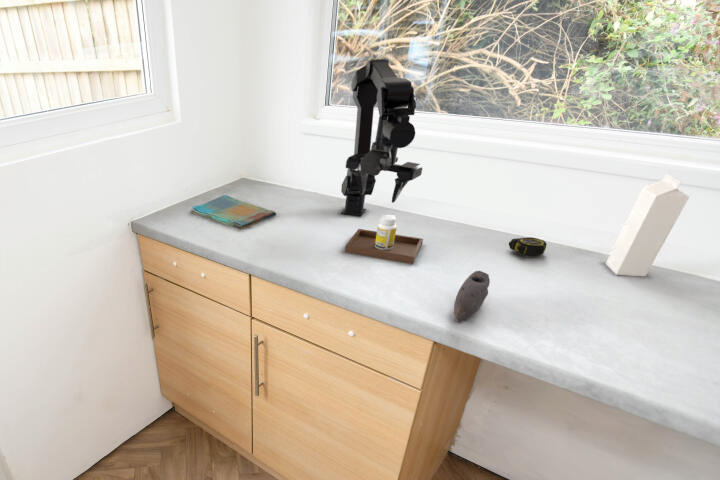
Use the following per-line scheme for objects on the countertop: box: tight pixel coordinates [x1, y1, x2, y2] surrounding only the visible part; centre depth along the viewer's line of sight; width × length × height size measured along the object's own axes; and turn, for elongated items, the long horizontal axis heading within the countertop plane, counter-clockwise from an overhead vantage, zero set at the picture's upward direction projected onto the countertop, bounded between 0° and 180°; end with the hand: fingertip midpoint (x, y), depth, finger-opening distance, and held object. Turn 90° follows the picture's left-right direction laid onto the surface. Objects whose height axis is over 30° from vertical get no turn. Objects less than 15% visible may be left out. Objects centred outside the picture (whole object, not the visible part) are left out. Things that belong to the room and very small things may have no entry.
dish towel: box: [189, 194, 277, 230], centre depth 154 cm, size 17×23×2 cm
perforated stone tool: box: [453, 270, 491, 323], centre depth 99 cm, size 15×5×7 cm, turn 141°
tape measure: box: [508, 236, 547, 258], centre depth 121 cm, size 7×7×4 cm
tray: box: [344, 228, 424, 265], centre depth 128 cm, size 13×18×2 cm
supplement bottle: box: [375, 214, 398, 250], centre depth 126 cm, size 5×5×8 cm
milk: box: [605, 173, 690, 277], centre depth 107 cm, size 6×6×22 cm
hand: (377, 198), depth 128 cm, fingers open, 9 cm apart
